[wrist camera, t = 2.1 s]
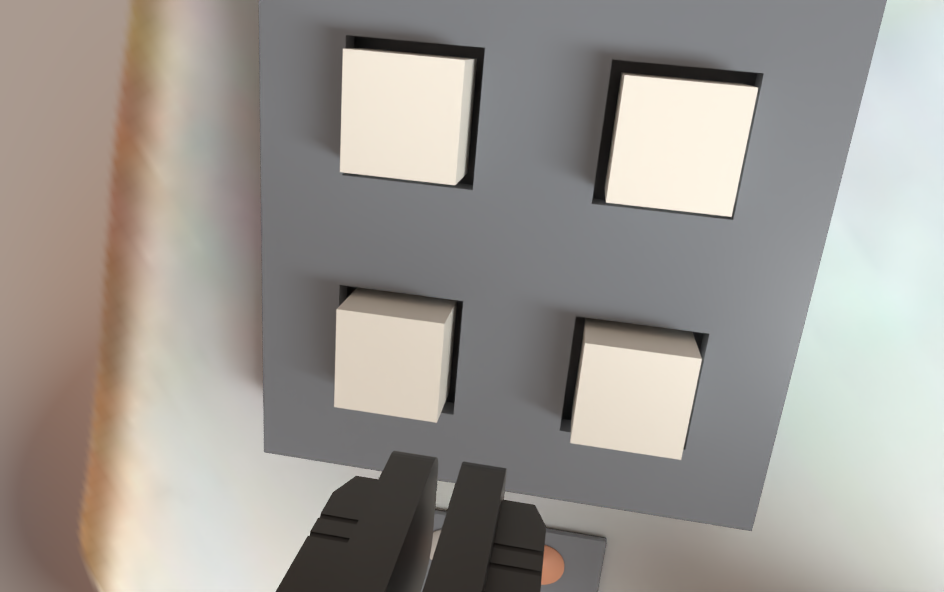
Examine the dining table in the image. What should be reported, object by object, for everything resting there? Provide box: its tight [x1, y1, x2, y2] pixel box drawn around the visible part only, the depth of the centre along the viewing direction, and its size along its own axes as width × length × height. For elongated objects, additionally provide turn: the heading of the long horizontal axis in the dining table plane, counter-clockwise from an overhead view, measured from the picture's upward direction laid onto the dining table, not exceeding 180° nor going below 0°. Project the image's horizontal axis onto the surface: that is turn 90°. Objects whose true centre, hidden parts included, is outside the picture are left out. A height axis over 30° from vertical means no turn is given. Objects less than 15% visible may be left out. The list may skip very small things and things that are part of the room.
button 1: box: [570, 317, 702, 460], centre depth 27 cm, size 4×4×3 cm
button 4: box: [340, 48, 477, 185], centre depth 25 cm, size 4×4×3 cm
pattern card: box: [421, 510, 606, 592], centre depth 36 cm, size 10×8×1 cm
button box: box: [259, 0, 887, 531], centre depth 28 cm, size 20×20×4 cm
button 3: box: [604, 72, 758, 217], centre depth 24 cm, size 4×4×3 cm
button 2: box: [334, 287, 457, 423], centre depth 28 cm, size 4×4×3 cm
